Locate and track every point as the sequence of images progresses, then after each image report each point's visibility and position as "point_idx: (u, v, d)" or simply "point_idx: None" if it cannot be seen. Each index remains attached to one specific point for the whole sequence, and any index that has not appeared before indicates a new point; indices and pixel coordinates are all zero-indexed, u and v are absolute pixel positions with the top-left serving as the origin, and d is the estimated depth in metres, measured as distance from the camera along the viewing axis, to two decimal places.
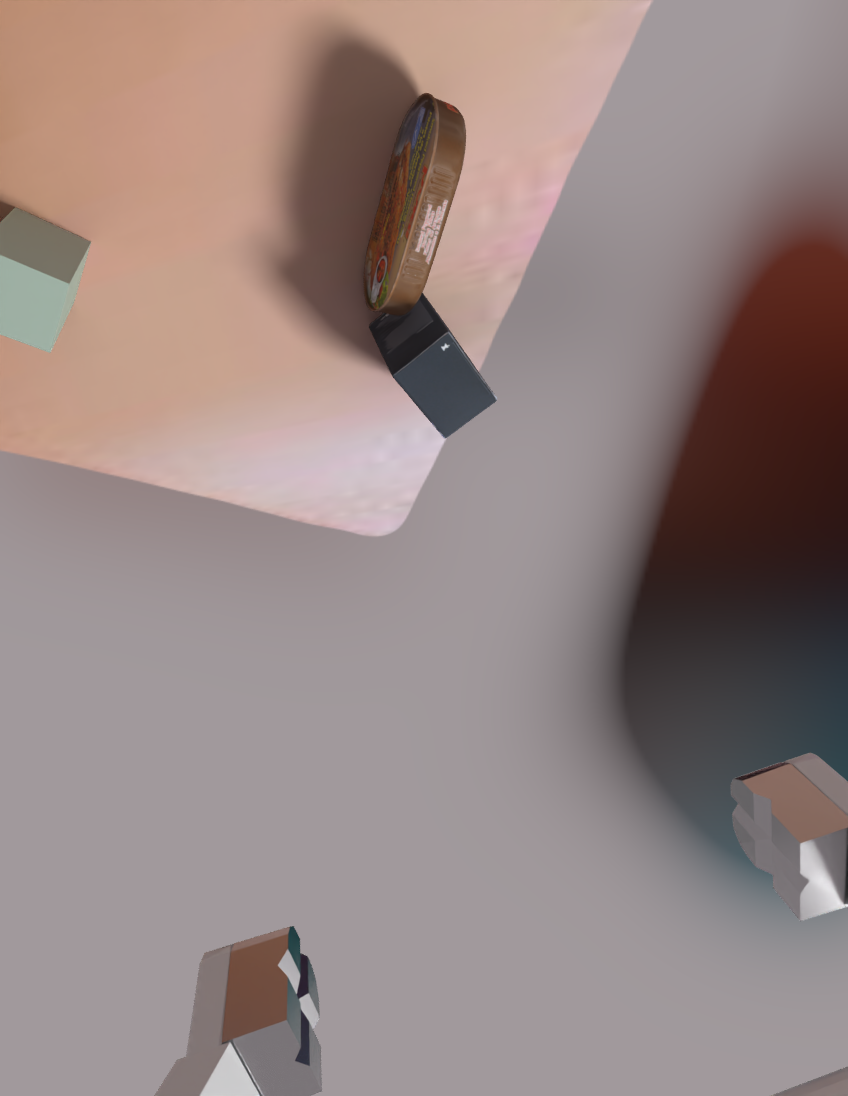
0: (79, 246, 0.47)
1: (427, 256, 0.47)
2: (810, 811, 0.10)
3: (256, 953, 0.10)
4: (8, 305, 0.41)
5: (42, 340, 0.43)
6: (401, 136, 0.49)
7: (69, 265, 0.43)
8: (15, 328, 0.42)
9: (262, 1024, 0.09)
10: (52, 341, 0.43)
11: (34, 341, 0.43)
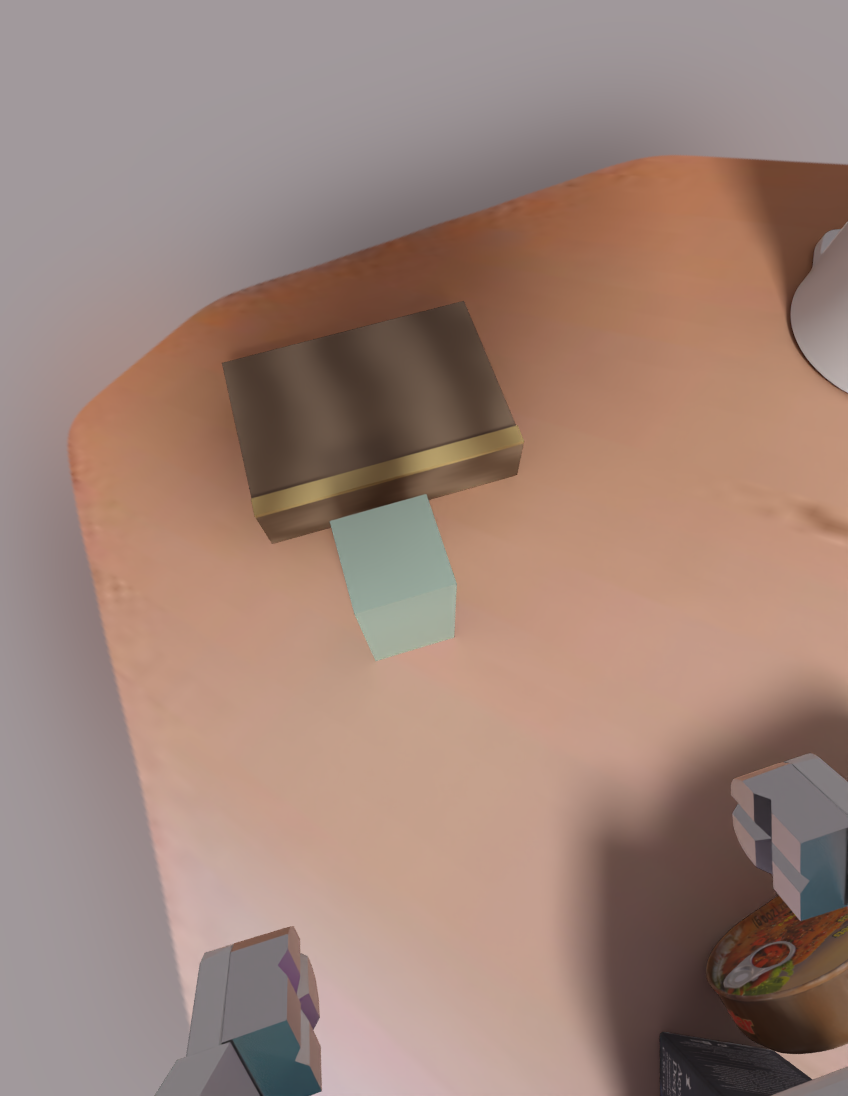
0: None
1: None
2: (810, 811, 0.10)
3: (256, 953, 0.10)
4: (381, 548, 0.32)
5: (364, 598, 0.31)
6: None
7: None
8: (358, 566, 0.31)
9: (262, 1024, 0.09)
10: (371, 608, 0.30)
11: (356, 591, 0.31)
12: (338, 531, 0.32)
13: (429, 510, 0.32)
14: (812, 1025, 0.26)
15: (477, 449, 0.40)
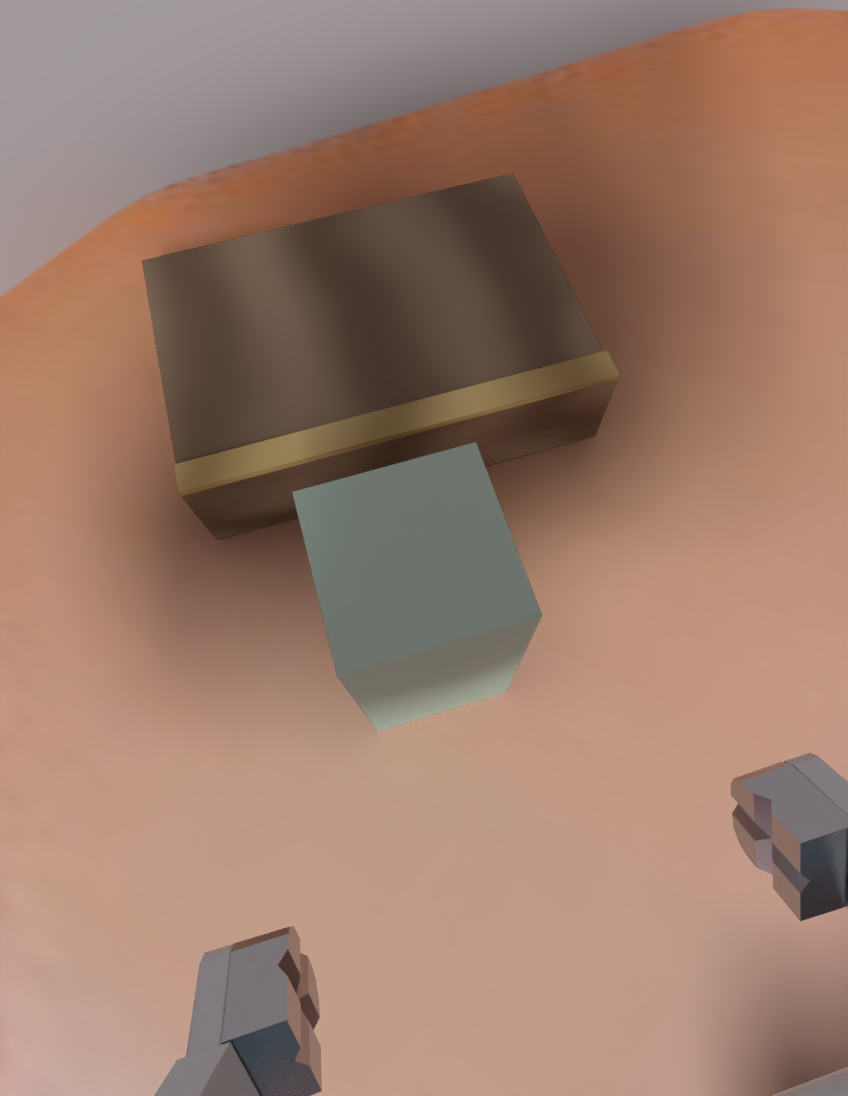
0: None
1: None
2: (810, 812, 0.10)
3: (256, 953, 0.10)
4: (391, 543, 0.16)
5: (358, 643, 0.15)
6: None
7: None
8: (346, 580, 0.16)
9: (262, 1024, 0.09)
10: (371, 664, 0.15)
11: (342, 630, 0.15)
12: (309, 512, 0.17)
13: (483, 472, 0.17)
14: None
15: (544, 387, 0.25)
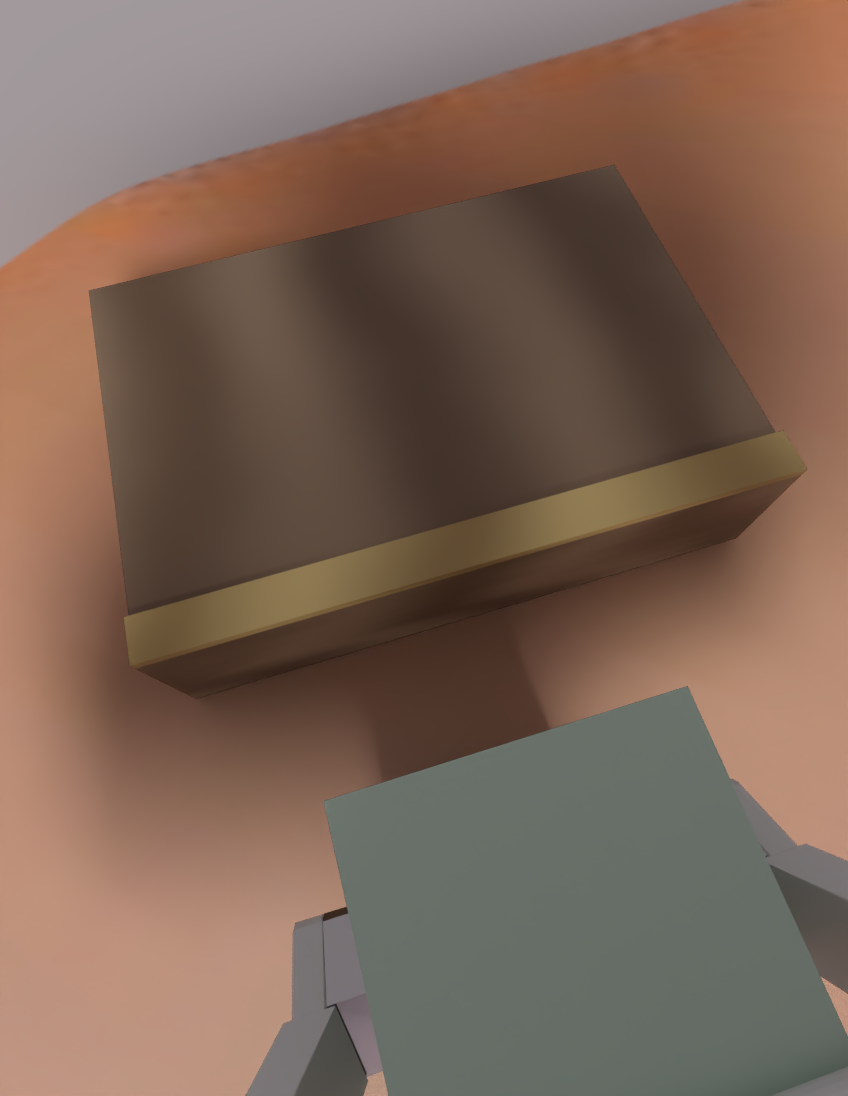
0: None
1: None
2: None
3: (347, 923, 0.11)
4: (537, 937, 0.08)
5: None
6: None
7: None
8: (446, 1037, 0.07)
9: None
10: None
11: None
12: (360, 853, 0.08)
13: (711, 758, 0.08)
14: None
15: (693, 489, 0.16)
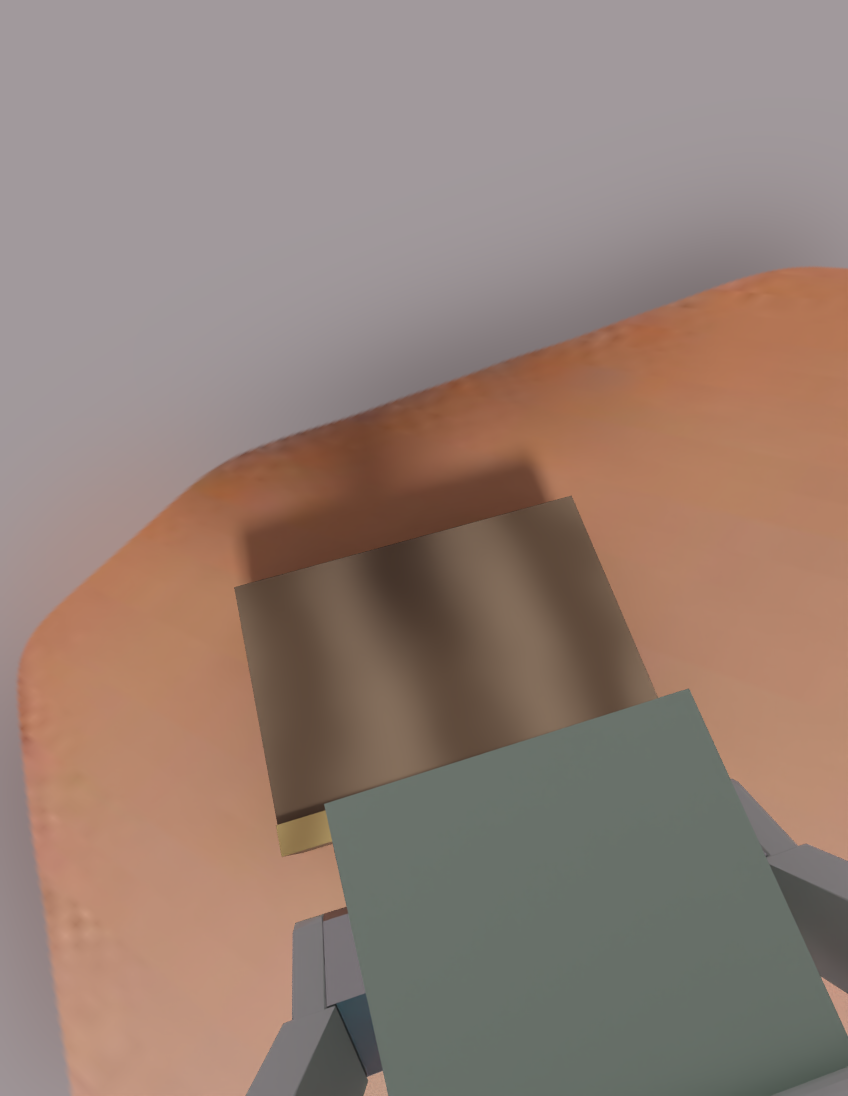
0: None
1: None
2: None
3: (348, 923, 0.11)
4: (538, 940, 0.08)
5: None
6: None
7: None
8: (447, 1040, 0.07)
9: None
10: None
11: None
12: (361, 855, 0.08)
13: (712, 761, 0.08)
14: None
15: None
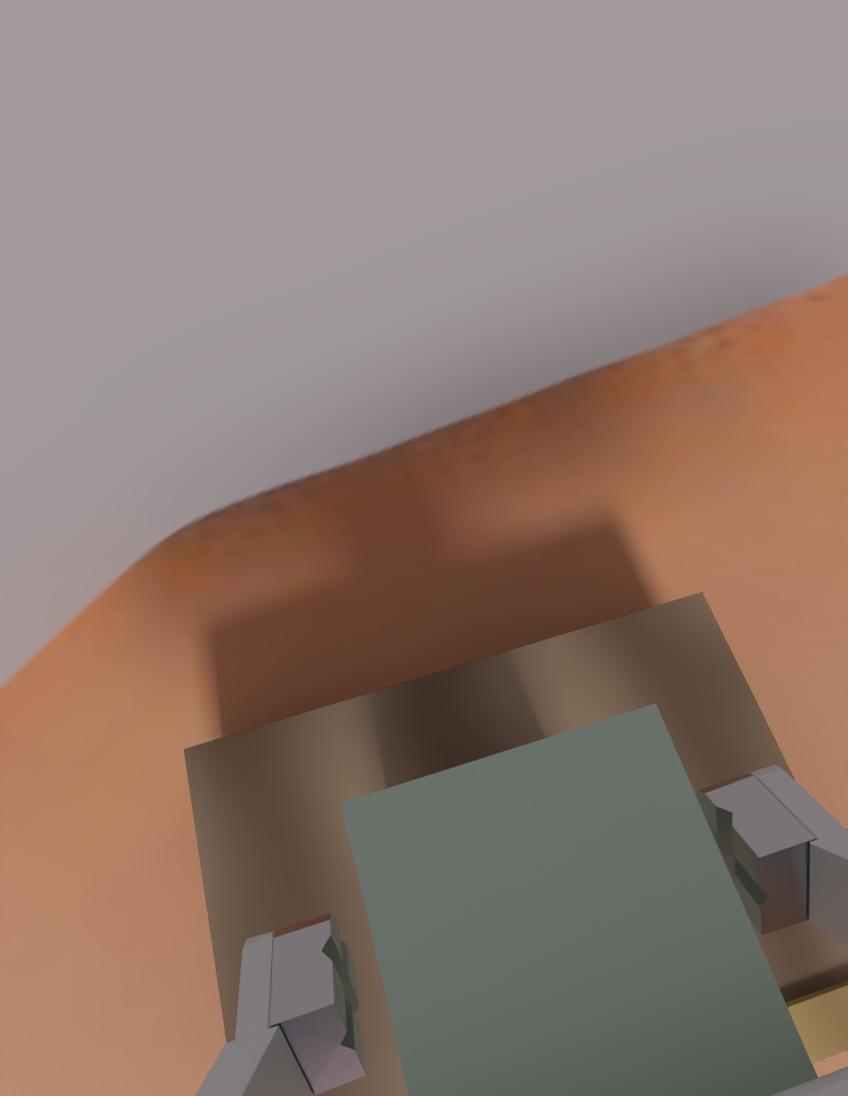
0: None
1: None
2: (771, 825, 0.10)
3: (298, 939, 0.10)
4: (524, 918, 0.09)
5: None
6: None
7: None
8: (446, 1001, 0.09)
9: (309, 1008, 0.09)
10: None
11: None
12: (373, 847, 0.09)
13: (675, 766, 0.10)
14: None
15: (808, 1047, 0.16)
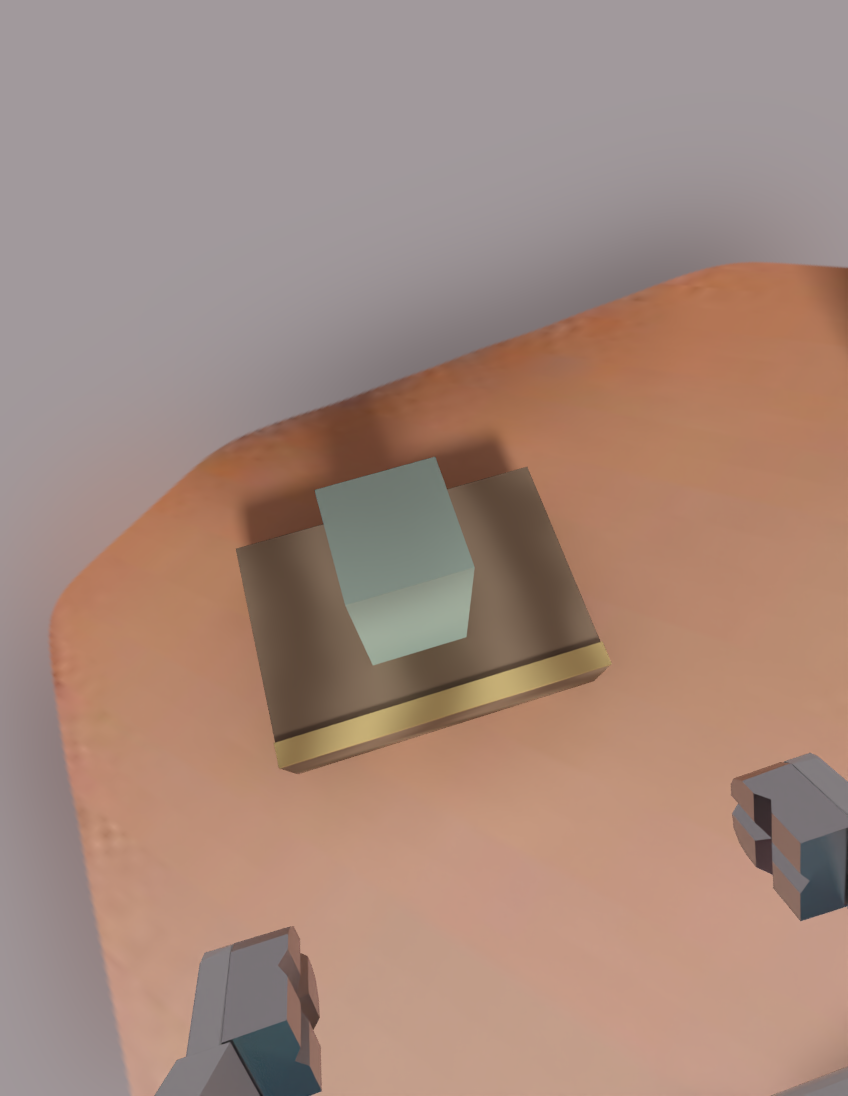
0: None
1: None
2: (810, 811, 0.10)
3: (256, 954, 0.10)
4: (379, 522, 0.25)
5: (358, 585, 0.24)
6: None
7: None
8: (350, 546, 0.25)
9: (262, 1024, 0.09)
10: (366, 598, 0.24)
11: (348, 577, 0.24)
12: (326, 503, 0.25)
13: (439, 476, 0.26)
14: None
15: (554, 675, 0.32)
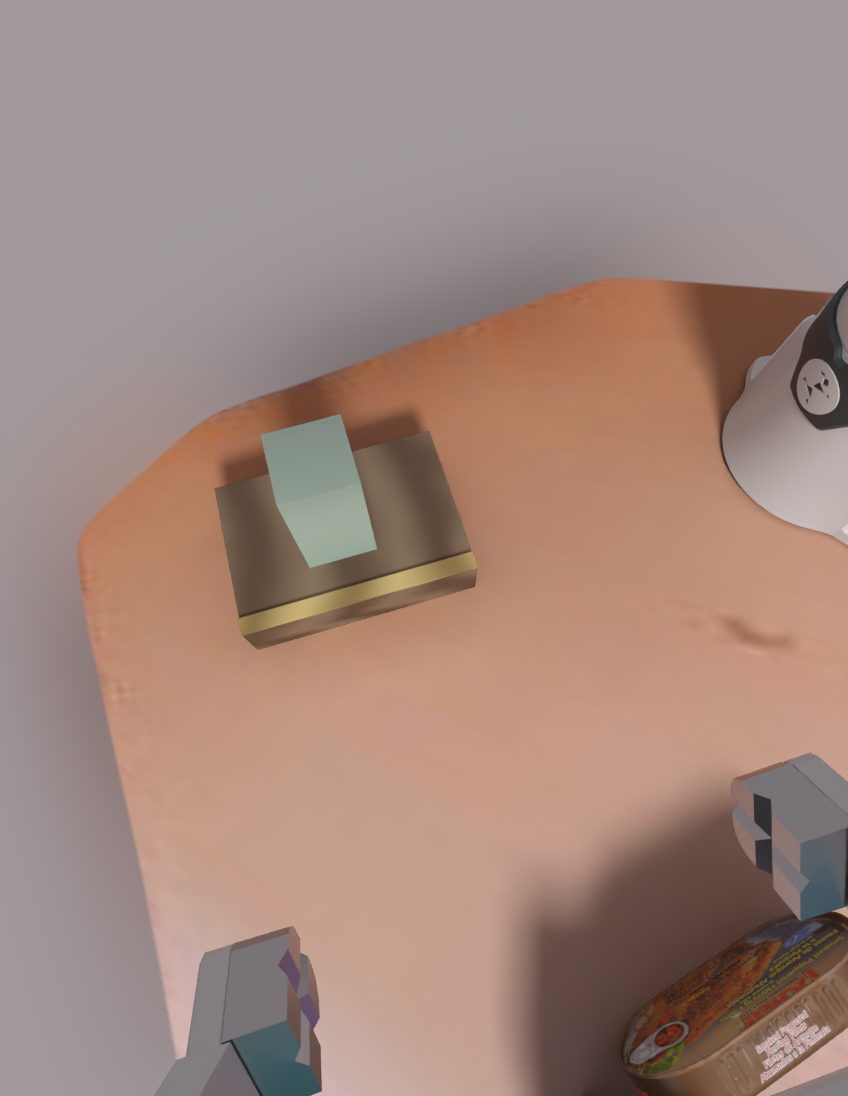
0: None
1: (766, 1071, 0.31)
2: (810, 811, 0.10)
3: (256, 953, 0.10)
4: (301, 455, 0.39)
5: (285, 493, 0.38)
6: (764, 931, 0.40)
7: None
8: (281, 470, 0.38)
9: (262, 1024, 0.09)
10: (290, 501, 0.37)
11: (279, 489, 0.38)
12: (267, 443, 0.39)
13: (342, 426, 0.39)
14: None
15: (436, 573, 0.46)
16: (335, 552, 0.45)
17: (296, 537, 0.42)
